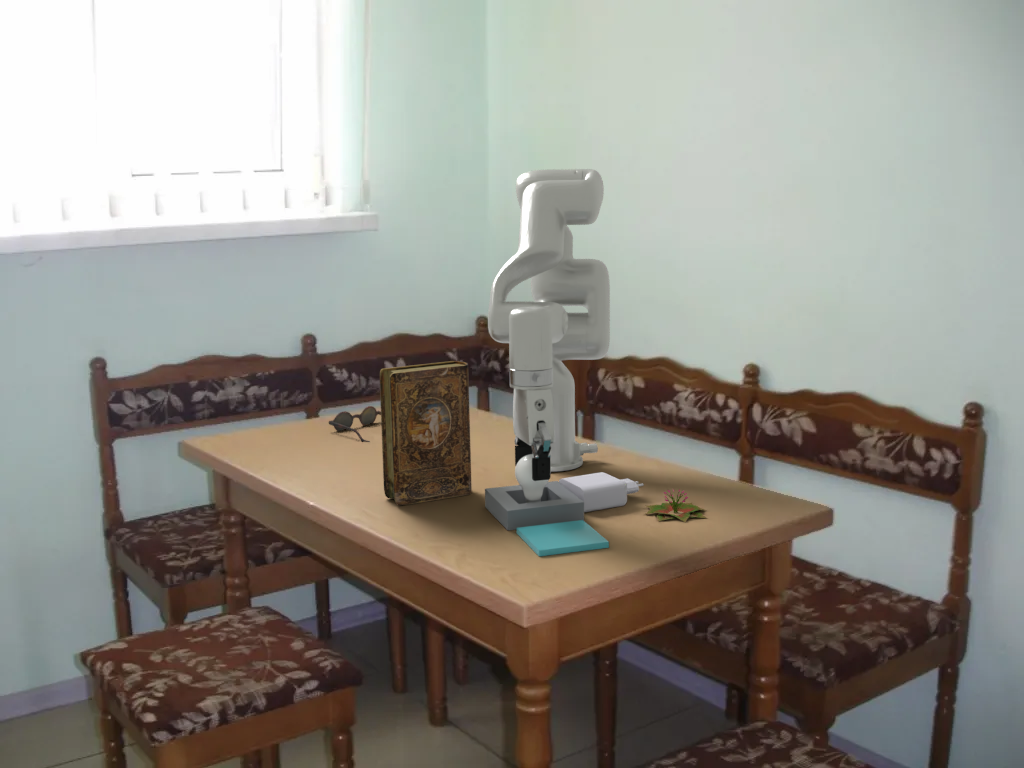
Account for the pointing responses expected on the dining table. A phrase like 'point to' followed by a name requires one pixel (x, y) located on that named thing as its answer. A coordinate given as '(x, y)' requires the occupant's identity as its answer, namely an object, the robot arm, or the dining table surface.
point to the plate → (562, 538)
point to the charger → (600, 490)
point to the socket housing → (533, 506)
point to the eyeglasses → (346, 419)
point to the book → (425, 432)
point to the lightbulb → (529, 480)
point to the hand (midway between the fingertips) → (532, 473)
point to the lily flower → (675, 509)
